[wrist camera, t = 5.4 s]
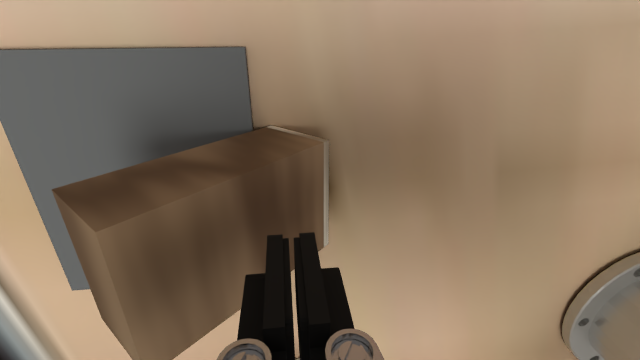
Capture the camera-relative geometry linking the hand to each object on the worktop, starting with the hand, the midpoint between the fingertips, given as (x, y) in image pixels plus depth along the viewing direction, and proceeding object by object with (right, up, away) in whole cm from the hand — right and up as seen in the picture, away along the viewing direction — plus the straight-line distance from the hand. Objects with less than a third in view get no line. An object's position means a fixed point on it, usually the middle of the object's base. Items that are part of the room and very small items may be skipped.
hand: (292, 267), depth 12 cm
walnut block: (0, +3, +6) cm, 7 cm away
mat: (-9, +3, +7) cm, 11 cm away
